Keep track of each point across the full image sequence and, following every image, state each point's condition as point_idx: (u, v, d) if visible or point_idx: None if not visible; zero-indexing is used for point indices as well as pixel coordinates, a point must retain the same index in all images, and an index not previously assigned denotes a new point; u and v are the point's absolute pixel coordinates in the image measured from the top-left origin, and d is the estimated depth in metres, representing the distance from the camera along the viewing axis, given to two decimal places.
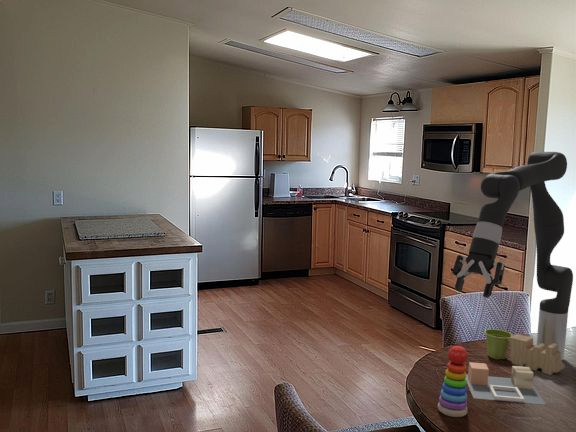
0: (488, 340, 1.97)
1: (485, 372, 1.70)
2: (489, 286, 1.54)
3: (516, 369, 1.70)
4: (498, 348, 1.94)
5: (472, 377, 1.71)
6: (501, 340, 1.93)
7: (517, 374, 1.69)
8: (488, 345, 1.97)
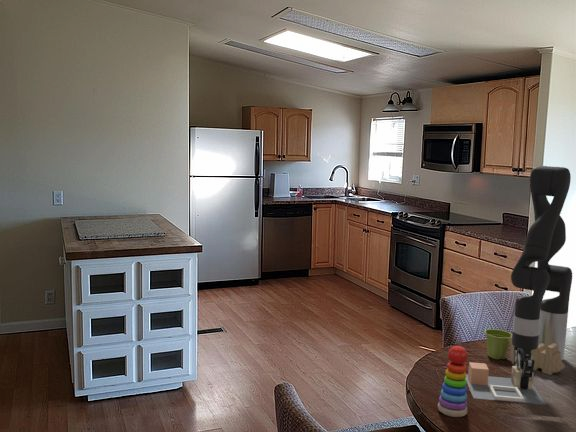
0: (488, 339, 1.97)
1: (485, 372, 1.70)
2: (522, 379, 1.68)
3: (516, 369, 1.70)
4: (498, 348, 1.94)
5: (472, 377, 1.71)
6: (501, 340, 1.93)
7: (517, 374, 1.69)
8: (488, 345, 1.97)
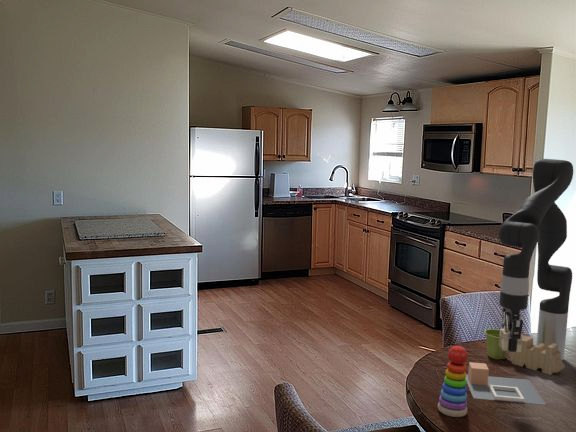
0: (488, 340, 1.97)
1: (485, 372, 1.70)
2: (510, 341, 1.58)
3: (504, 331, 1.61)
4: (498, 348, 1.94)
5: (472, 377, 1.71)
6: None
7: (505, 336, 1.59)
8: (488, 345, 1.97)
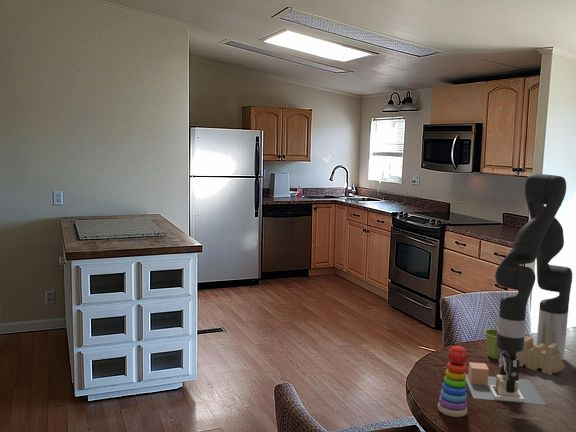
0: (488, 340, 1.97)
1: (485, 372, 1.70)
2: (508, 382, 1.58)
3: (500, 378, 1.63)
4: (498, 348, 1.94)
5: (472, 377, 1.71)
6: None
7: (501, 383, 1.61)
8: (488, 345, 1.97)
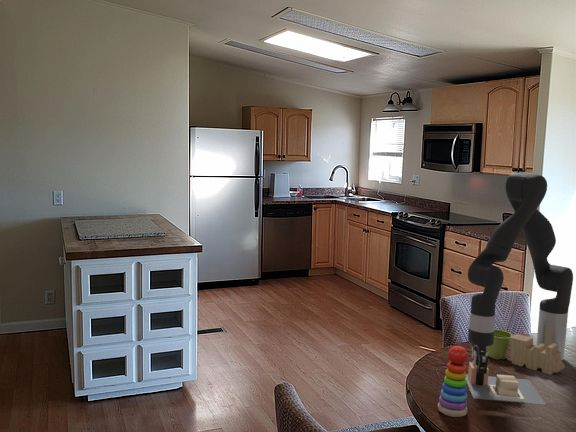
0: None
1: None
2: (478, 375, 1.69)
3: (500, 378, 1.63)
4: (498, 348, 1.94)
5: (472, 377, 1.71)
6: (501, 340, 1.93)
7: (501, 383, 1.61)
8: None
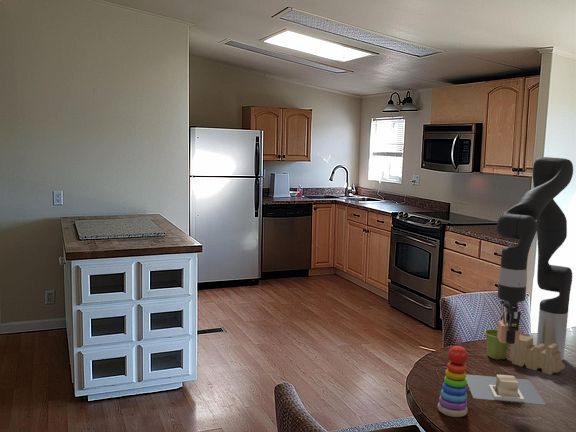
0: (488, 340, 1.97)
1: None
2: (508, 333, 1.59)
3: (500, 378, 1.63)
4: (498, 348, 1.94)
5: (502, 335, 1.60)
6: None
7: (501, 383, 1.61)
8: (488, 345, 1.97)
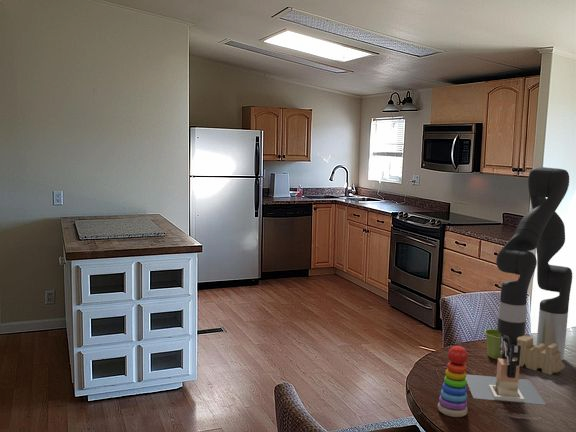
0: (488, 340, 1.97)
1: None
2: (509, 367, 1.58)
3: None
4: (498, 348, 1.94)
5: (502, 374, 1.61)
6: None
7: (501, 383, 1.61)
8: (488, 345, 1.97)
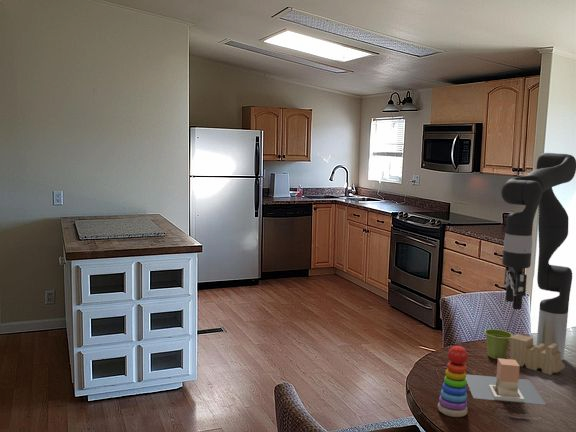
0: (488, 340, 1.97)
1: (515, 369, 1.60)
2: (515, 298, 1.56)
3: None
4: (498, 348, 1.94)
5: (502, 374, 1.61)
6: (501, 340, 1.93)
7: (501, 383, 1.61)
8: (488, 345, 1.97)
